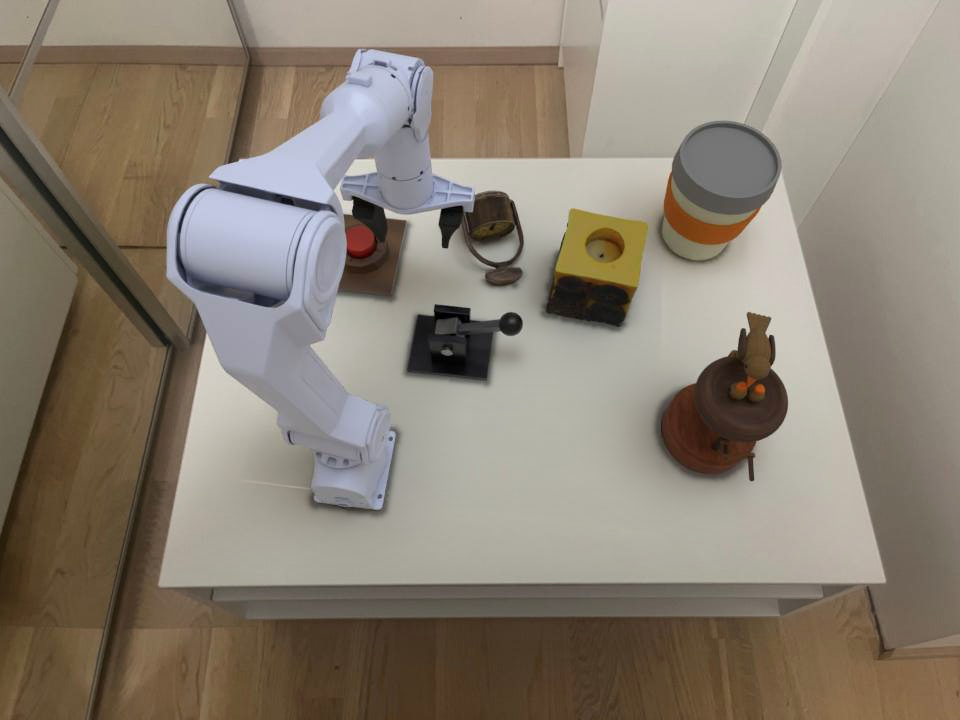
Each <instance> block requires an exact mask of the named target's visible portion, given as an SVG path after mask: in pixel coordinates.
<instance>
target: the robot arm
mask: <svg viewBox="0 0 960 720" xmlns="http://www.w3.org/2000/svg"><path fill="white" fill-rule="evenodd" d="M344 77H345V79H344V81H343V82H342V83H341V84H340V85H339V86H337V87H336V88H335V89H333V90H332V91H331V92H330V93H329V94H327V95H326V96H325V98H324V99H323V101H322V103H321V106H320V109H319V120H317V122H315V123H312V124H311V125H310V126H308V127H307V128H305V129H304V130H302V131H301V132H299V133H297V134H295V135H294V136H292V137H291V138H289V139H288V140H286V141H285V142H283V143H281V144H280V145H278V146H276V147H275V148H273V149H272V150H270V151H269V152H265V153H264V154H261V155H257V156H253V157H250V158H246V159H242V160H238V161H234V162H231V163H227V164H223V165H220V166H218V167H216V168H215V169H214V171H212V173H211V174H210V175H209V176H208V177H207V179H210V180H215V181H217V182H218V183H219V184H220V185H219V187H217V186H216V185H212V184H208V183H197V184H194V185H192V186H190V187H189V188H188V189H187V190H186V191H185V192H184V193H183V194H182V195H181V196H180V198H179V199H178V200H177V201H176V203H175V204H174V206H173V207H172V210H171V212H170V214H169V218H168V222H167V228H166V258H165V260H166V263H165V264H166V275H165V276H166V279H167V280H168V281H169V282H170V283H172V285H174V286H175V287H176V288H177V289H178V290H179V291H180V292H181V293H182V294H184V295H185V296H186V297H187V298H188V299H189V300H190V301H191V302H192V303H193V304H194V305H195V307H196V310H197V313H198V315H199V317H200V319H201V321H202V325H203V326H204V329H205V331H206V334H207V336H208V339H209V341H210V343H211V346H212V348H213V351H214V353H215V356H216V358H217V360H218V363H219V365H220V367H221V368H222V370H224V372H225V373H226V374H228V376H230V377H231V378H233V379H234V380H236V381H237V382H238V383H239V384H241V385H242V386H243V387H245V388H246V389H247V390H249V391H250V392H251V393H252V394H254V395H255V396H257V397H258V398H259V399H260V400H261V401H263V402H264V403H266V404H267V405H268V406H270V407H271V408H272V409H273V410H275V411H276V412H277V415H276V424H275V425H276V426H277V427H278V428H280V432H281V435H282V438H283V441H284V442H285V443H286V444H287V445H289V446H299V447H303V448H306V449H308V450H310V452H311V453H312V456H313V461H314V463H313V464H314V469H313V475H312V479H311V483H310V490H311V492H312V493H313V494H314V495H313V500H314V501H315V503H321V504H326V505H327V504H328V505H335V506H339V507H342V508H343V507H344V508H357V509H358V508H359V509H365V510H366V509H367V510H375V511H380V510H382V508H383V507H384V502H385V495H386V490H387V484H388V479H389V475H390V474H389V473H390V468H391V463H392V459H393V452H394V448H395V442H396V437H397V434H396V432H395V431H393V430H391V423H392V416H391V415H392V413H391V412H390V410H389V407H388V406H387V404H384V403H379V404H378V403H374V402H372V401H369V400H367V399H365V398H362V397H360V396H357V395H355V394H353V393H350V392H348V390H347V389H346V388H345V387H344V385H342V383H341V382H340V380H339V379H338V377H336V376H335V374H334V373H333V372H332V371H331V369H330V368H329V367H328V365H326V364H325V362H324V361H323V360H322V358H321V357H320V356H319V355H318V354H317V353H316V351H315V350H314V348H313V347H312V346H311V345H315V344H317V343H319V342H323V341H325V339H326V336H327V332H328V328H329V326H330V325H331V322H332V319H333V313H334V309H335V305H336V301H337V296H338V292H339V291H338V287H339V283H340V280H341V277H342V274H343V270H344V266H345V260H346V251H347V241H346V234H345V225H344V215H343V214H344V210H343V207H342V204H341V201H340V199H339V196H338V195H337V193H336V192H335V190H336V188H337V187H338V185H339V183H340V187H339V191H340V195H341V198H342V201H346V202H352V209H351V215H353V217H354V219H356V220H358V221H360V222H362V223H363V224H365V225H366V226H367V227H368V228H369V229H370V230H371V231H372V232H373V233H374V235H375V236H376V237H377V239H378V240H379V242H383V243H385V239H386V235H387V230H388V226H387V220H386V218H387V216H386V213H385V210H387V211H389V212H392V213H395V214H398V215H405V216H408V215H409V216H410V215H416V214H422V213H426V212H432V211H438V210H440V213H439V218H438V228H439V229H440V235H441V248H442V249H445V250H447V249H449V246H450V240H451V239H452V236H453V234H454V233H455V232H456V231H457V230H459V229H460V227H461V226H462V224H461V222H462V217H463V211H465V212H473V207H474V200H475V195H476V189H475V186H468V185H464V184H461V183H457V182H455V181H453V180H450V179H448V178H445V177H442V176H440V175H437V174H435V173H433V167H432V158H431V157H432V155H431V146H430V136H429V127H430V125H431V122H432V114H433V112H432V99H433V91H434V71H433V70H432V67H431V66H428V65H427V66H426V64H425V61H424V60H423V59H422V58H420V57H416V56H415V57H414V56H409V55H405V54H399V53H394V52H388V51H383V50H377V49H373V48H370V49H366V48H358V49H357V50H356V52H355V54H354V56H353V59H352V61H351V64H350V68H349V70H348V71H347V73H346V76H344ZM370 158H373V160H374V163H375V168H376V171H374V172H369V173H368V172H367V173H363V174H362V173H361V174H356V175H349V174H348V175H346V174H347V172H348V171H349V169H350V168H351V166H352V165H353V164H354V162H355V161H356V160H367V159H370ZM390 438H392V440H390ZM380 495H381V497H380V498H379V496H380Z"/></svg>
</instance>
